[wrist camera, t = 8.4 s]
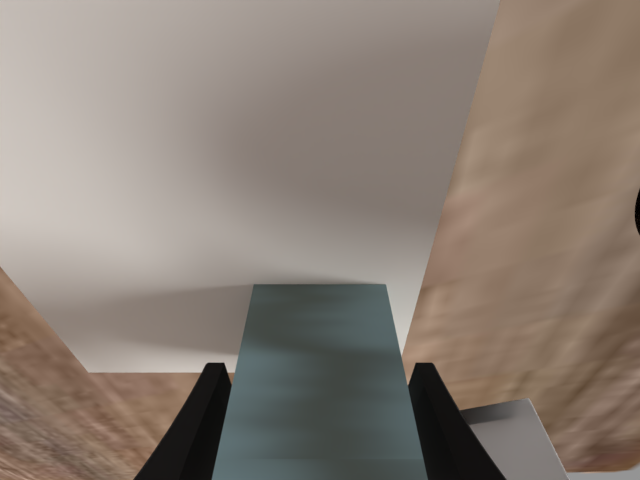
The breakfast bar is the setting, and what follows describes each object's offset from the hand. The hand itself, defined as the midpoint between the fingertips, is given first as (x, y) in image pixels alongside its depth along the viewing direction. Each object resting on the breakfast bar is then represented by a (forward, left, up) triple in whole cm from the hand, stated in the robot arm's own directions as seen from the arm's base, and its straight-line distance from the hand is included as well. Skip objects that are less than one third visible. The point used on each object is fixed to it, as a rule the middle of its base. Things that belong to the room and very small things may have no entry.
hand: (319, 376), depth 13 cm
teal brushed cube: (0, 0, -2) cm, 2 cm away
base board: (-4, +4, -4) cm, 7 cm away
